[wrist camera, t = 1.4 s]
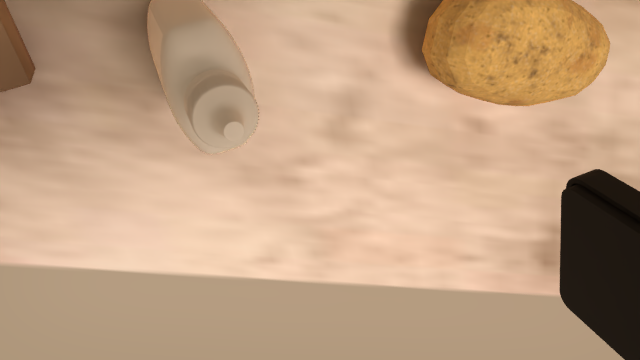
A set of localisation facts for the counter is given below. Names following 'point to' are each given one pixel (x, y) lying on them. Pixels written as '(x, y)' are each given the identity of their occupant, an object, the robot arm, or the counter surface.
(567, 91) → the potato
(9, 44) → the walnut block
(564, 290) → the robot arm
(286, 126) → the counter surface
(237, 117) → the grey tapered bottle shape
